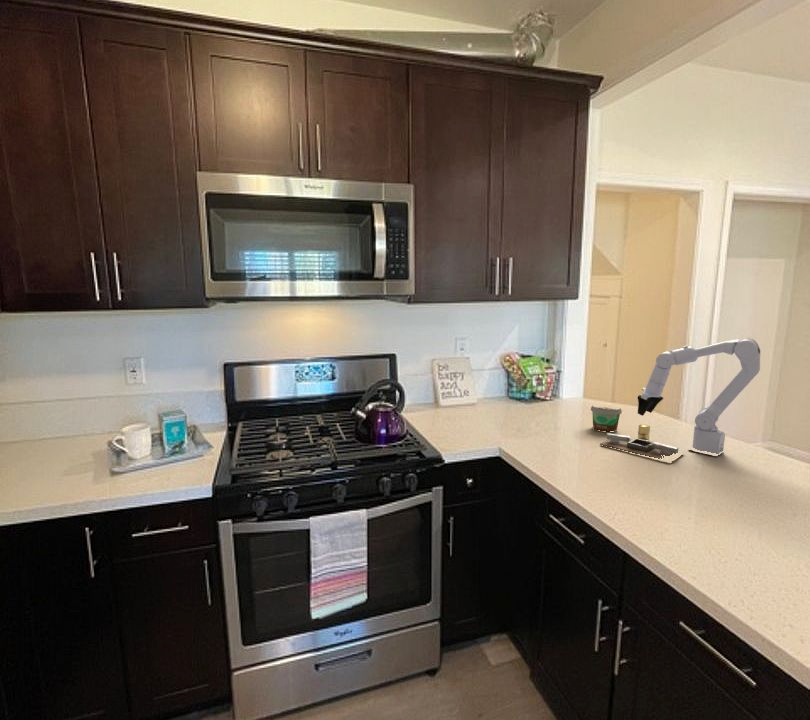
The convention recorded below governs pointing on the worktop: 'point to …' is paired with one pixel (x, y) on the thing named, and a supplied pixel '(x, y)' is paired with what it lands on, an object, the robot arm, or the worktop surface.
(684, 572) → the worktop surface
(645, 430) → the brass coupler
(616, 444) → the stand
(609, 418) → the food container
